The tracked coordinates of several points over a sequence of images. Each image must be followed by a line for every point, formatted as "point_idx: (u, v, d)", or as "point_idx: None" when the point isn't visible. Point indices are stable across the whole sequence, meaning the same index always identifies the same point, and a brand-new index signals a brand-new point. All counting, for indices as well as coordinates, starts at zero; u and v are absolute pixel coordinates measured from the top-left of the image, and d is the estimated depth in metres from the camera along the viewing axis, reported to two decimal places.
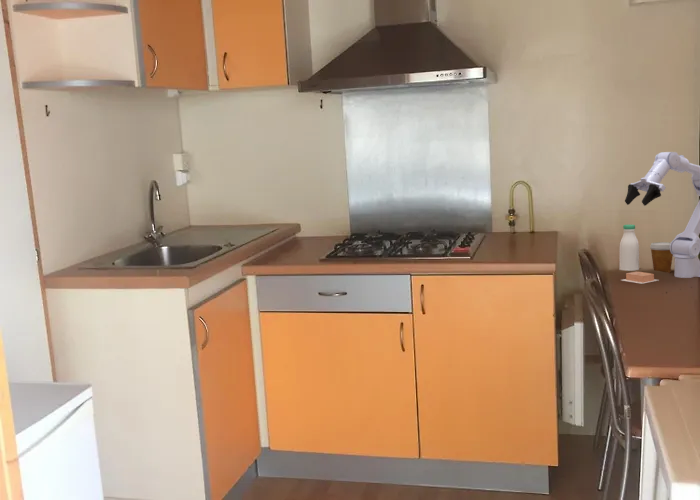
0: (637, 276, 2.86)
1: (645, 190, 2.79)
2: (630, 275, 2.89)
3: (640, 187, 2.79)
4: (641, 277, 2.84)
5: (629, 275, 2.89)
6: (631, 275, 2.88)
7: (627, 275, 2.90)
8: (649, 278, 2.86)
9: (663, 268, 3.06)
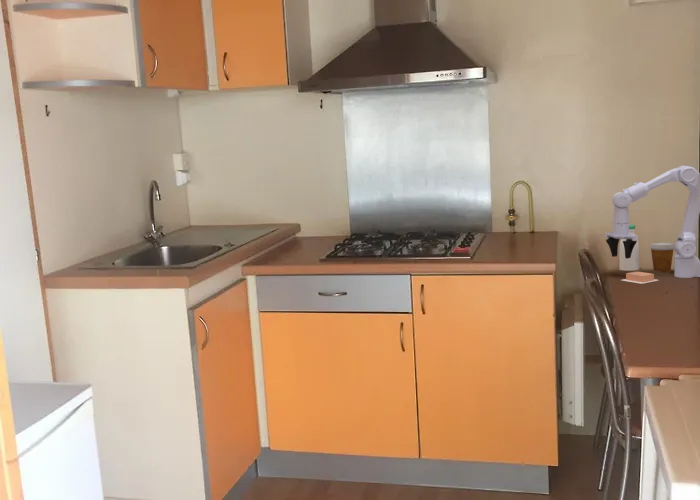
0: (637, 276, 2.86)
1: None
2: (630, 275, 2.89)
3: (616, 237, 2.96)
4: (641, 277, 2.84)
5: (629, 275, 2.89)
6: (631, 275, 2.88)
7: (627, 275, 2.90)
8: (649, 278, 2.86)
9: (663, 268, 3.06)
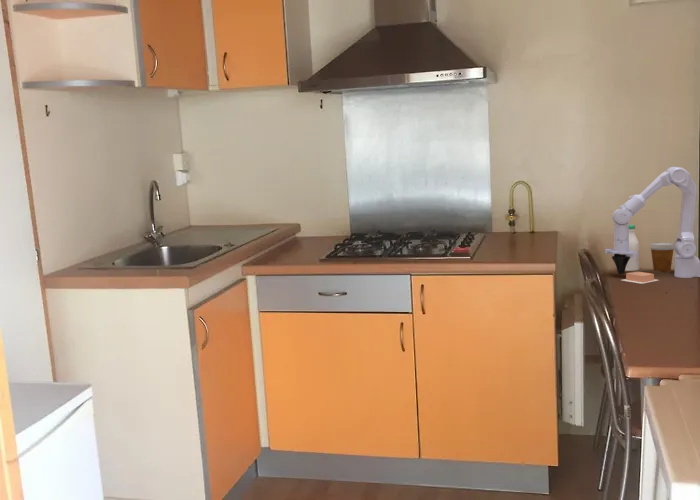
0: (637, 276, 2.86)
1: None
2: (630, 275, 2.89)
3: (615, 253, 2.97)
4: (641, 277, 2.84)
5: (629, 275, 2.89)
6: (631, 275, 2.88)
7: (627, 275, 2.90)
8: (649, 278, 2.86)
9: (663, 268, 3.06)
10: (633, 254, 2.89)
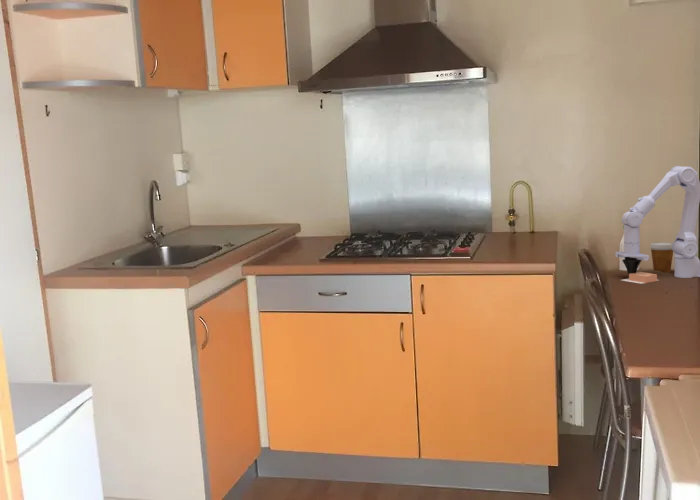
0: (640, 276, 2.85)
1: None
2: (633, 275, 2.88)
3: (626, 257, 2.93)
4: (644, 277, 2.83)
5: (632, 275, 2.88)
6: (634, 275, 2.87)
7: (630, 275, 2.89)
8: (653, 279, 2.84)
9: (663, 268, 3.06)
10: (644, 257, 2.84)
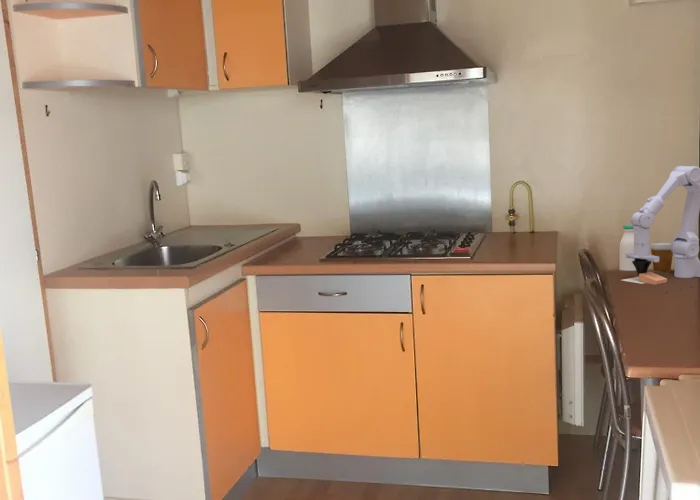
0: (650, 279, 2.81)
1: None
2: (643, 276, 2.83)
3: (636, 258, 2.89)
4: (654, 281, 2.79)
5: (642, 276, 2.84)
6: (644, 277, 2.83)
7: (640, 276, 2.85)
8: None
9: (663, 268, 3.06)
10: (654, 259, 2.80)
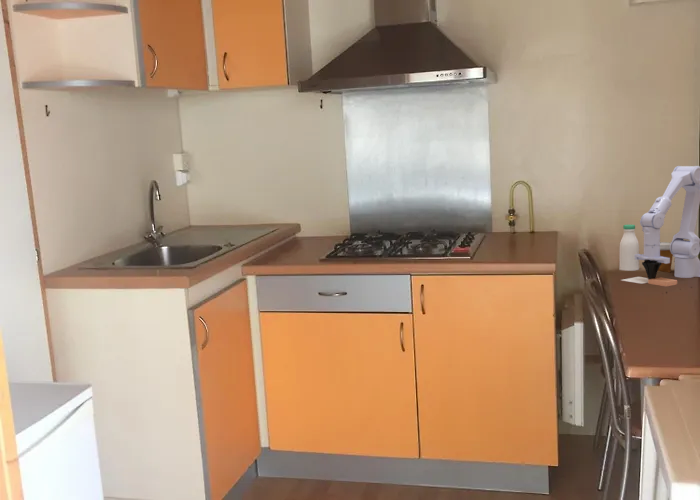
0: (660, 282, 2.77)
1: None
2: (652, 281, 2.80)
3: (646, 259, 2.85)
4: (664, 283, 2.75)
5: (651, 281, 2.80)
6: (654, 281, 2.79)
7: (649, 281, 2.81)
8: None
9: (663, 268, 3.06)
10: (665, 260, 2.76)
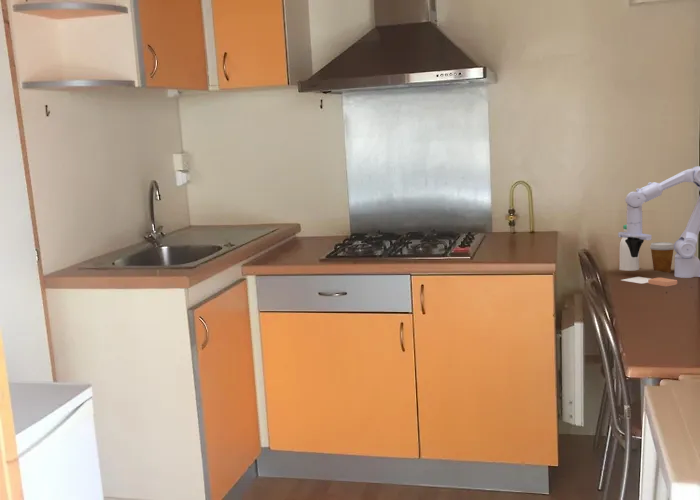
0: (660, 282, 2.77)
1: None
2: (653, 281, 2.80)
3: (629, 237, 2.95)
4: (664, 283, 2.75)
5: (651, 281, 2.80)
6: (654, 281, 2.79)
7: (649, 281, 2.81)
8: None
9: (663, 268, 3.06)
10: (647, 237, 2.87)
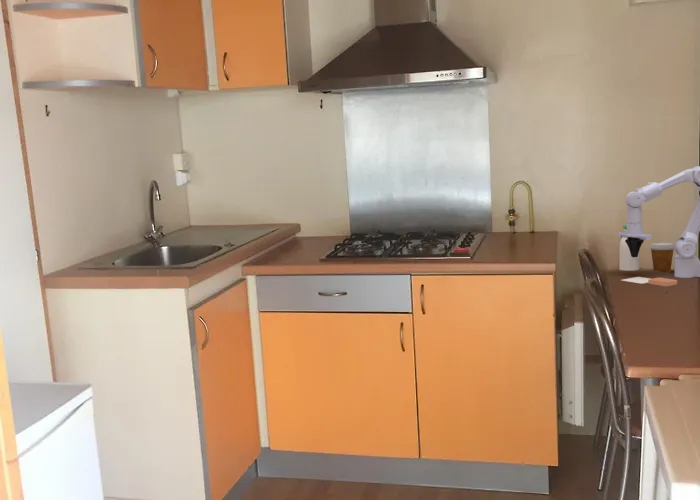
0: (660, 282, 2.77)
1: None
2: (653, 281, 2.80)
3: (629, 237, 2.95)
4: (664, 283, 2.75)
5: (651, 281, 2.80)
6: (654, 281, 2.79)
7: (649, 281, 2.81)
8: None
9: (663, 268, 3.06)
10: (647, 237, 2.87)
